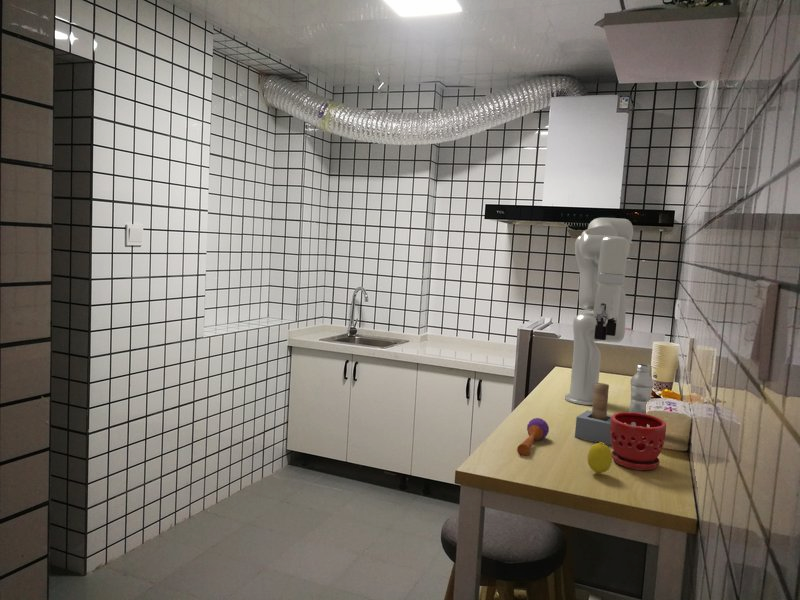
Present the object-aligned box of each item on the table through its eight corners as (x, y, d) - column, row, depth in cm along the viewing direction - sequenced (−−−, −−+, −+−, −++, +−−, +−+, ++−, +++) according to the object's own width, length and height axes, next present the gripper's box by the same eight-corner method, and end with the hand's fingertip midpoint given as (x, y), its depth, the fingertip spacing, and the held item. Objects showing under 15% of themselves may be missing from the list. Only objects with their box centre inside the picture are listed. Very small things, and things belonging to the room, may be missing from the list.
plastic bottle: (651, 433, 183) (658, 368, 181) (627, 430, 184) (634, 366, 183) (647, 427, 189) (653, 364, 188) (624, 424, 191) (630, 362, 189)
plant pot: (603, 452, 163) (607, 409, 161) (654, 458, 160) (659, 414, 159) (611, 470, 150) (616, 422, 149) (667, 477, 148) (672, 428, 146)
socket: (585, 429, 183) (587, 410, 182) (619, 437, 177) (621, 417, 177) (574, 437, 175) (576, 416, 174) (610, 445, 169) (612, 424, 169)
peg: (593, 429, 179) (596, 382, 178) (606, 431, 177) (610, 384, 175) (588, 432, 175) (592, 384, 174) (602, 435, 173) (606, 386, 172)
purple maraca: (510, 439, 157) (528, 415, 175) (513, 461, 158) (531, 435, 176) (533, 439, 155) (549, 415, 173) (536, 461, 155) (551, 435, 173)
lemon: (613, 475, 146) (617, 442, 146) (604, 480, 142) (607, 447, 142) (592, 468, 150) (595, 436, 149) (582, 473, 146) (585, 441, 145)
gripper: (606, 277, 186) (600, 331, 188) (588, 279, 172) (582, 339, 174) (631, 279, 182) (625, 335, 184) (615, 282, 168) (609, 343, 170)
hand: (604, 337), depth 179 cm, fingers open, 9 cm apart
